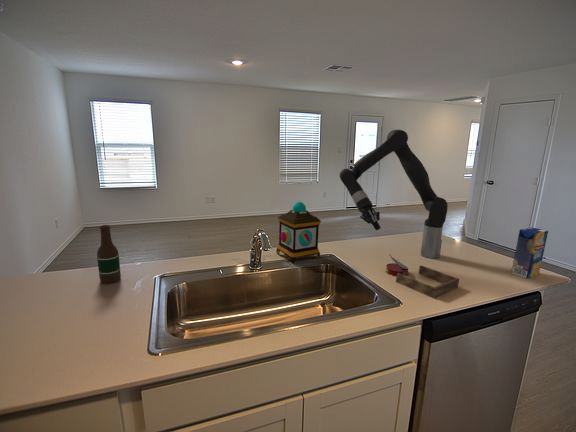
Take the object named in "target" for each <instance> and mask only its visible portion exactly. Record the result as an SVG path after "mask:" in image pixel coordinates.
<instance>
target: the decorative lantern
mask: <svg viewBox="0 0 576 432" xmlns="http://www.w3.org/2000/svg"><path fill="white" fill-rule="evenodd" d="M289 210H290V211H288V212H286V213H282V214H281V215H279V216H278V217H277V220H278V222H279V228H278V229H279V230H278V231H279V232H278V233H279V234H278V236H279V237H278V238H279V239H278V245H277V247H276V251H275V252H276V254H277V255H280V253H282V254H284V255H286V256H287V257H289V258H290V260H291V264H295V261H296V259H301V258H306V257H311V256H315V255H316V259H320V258H321V251H320V249H319V228H320V227H319V226H320V224H321V222H322V220H320V218H318V217H317V216H314V215H313V214H311V213H310V212H309V211H308V210H307V207H306V204H304V202H302V201H297V202H296V203H294V204H293V206H292V209H289Z"/></svg>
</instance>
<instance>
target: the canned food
mask: <svg viewBox="0 0 576 432" xmlns="http://www.w3.org/2000/svg"><path fill="white" fill-rule="evenodd" d="M389 257H390V258H391V260H392V261H393V263H391V262H390V263H387V264H386V265H385V273H386V274H387V275H389V276H391V275H392V276H391V277H395V276H397V273H400V274H403V275H405V276H408V275H409V267H407V265H405V264H403V263H402V262H400V261H398V260H397V259H396V258H394V257H393V256H392V255H391V254H389Z"/></svg>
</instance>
